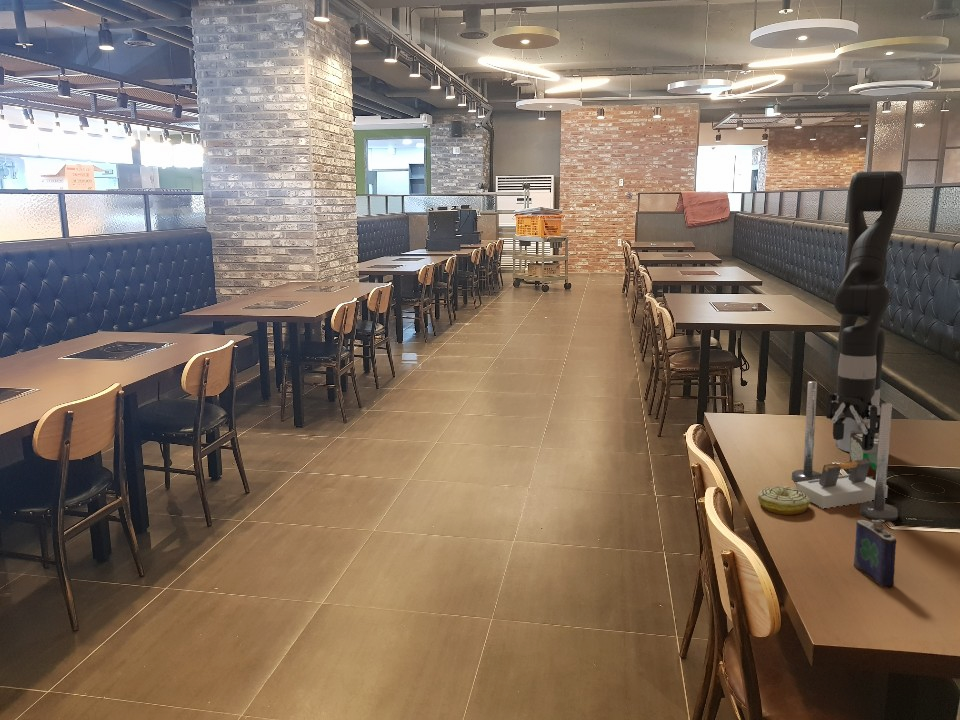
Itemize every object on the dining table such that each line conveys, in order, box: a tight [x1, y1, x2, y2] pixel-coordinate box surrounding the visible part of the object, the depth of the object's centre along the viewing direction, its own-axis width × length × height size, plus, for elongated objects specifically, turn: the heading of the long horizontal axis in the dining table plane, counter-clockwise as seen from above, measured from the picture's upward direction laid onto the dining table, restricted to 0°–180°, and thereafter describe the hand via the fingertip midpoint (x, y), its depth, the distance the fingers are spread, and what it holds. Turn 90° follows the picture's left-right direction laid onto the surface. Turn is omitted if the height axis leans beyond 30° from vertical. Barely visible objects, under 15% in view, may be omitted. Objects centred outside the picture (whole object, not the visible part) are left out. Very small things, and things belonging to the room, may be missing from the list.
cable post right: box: [859, 402, 899, 523], centre depth 155 cm, size 7×7×24 cm
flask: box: [853, 519, 897, 589], centre depth 131 cm, size 9×3×11 cm, turn 8°
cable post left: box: [791, 380, 822, 483], centre depth 175 cm, size 7×7×24 cm
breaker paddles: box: [819, 459, 871, 488], centre depth 165 cm, size 2×11×5 cm, turn 106°
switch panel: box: [795, 473, 889, 510], centre depth 167 cm, size 9×17×3 cm, turn 106°
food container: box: [848, 430, 879, 481], centre depth 178 cm, size 12×6×10 cm, turn 168°
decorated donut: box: [757, 485, 811, 516], centre depth 163 cm, size 10×11×4 cm
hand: (852, 444), depth 165 cm, fingers open, 8 cm apart
